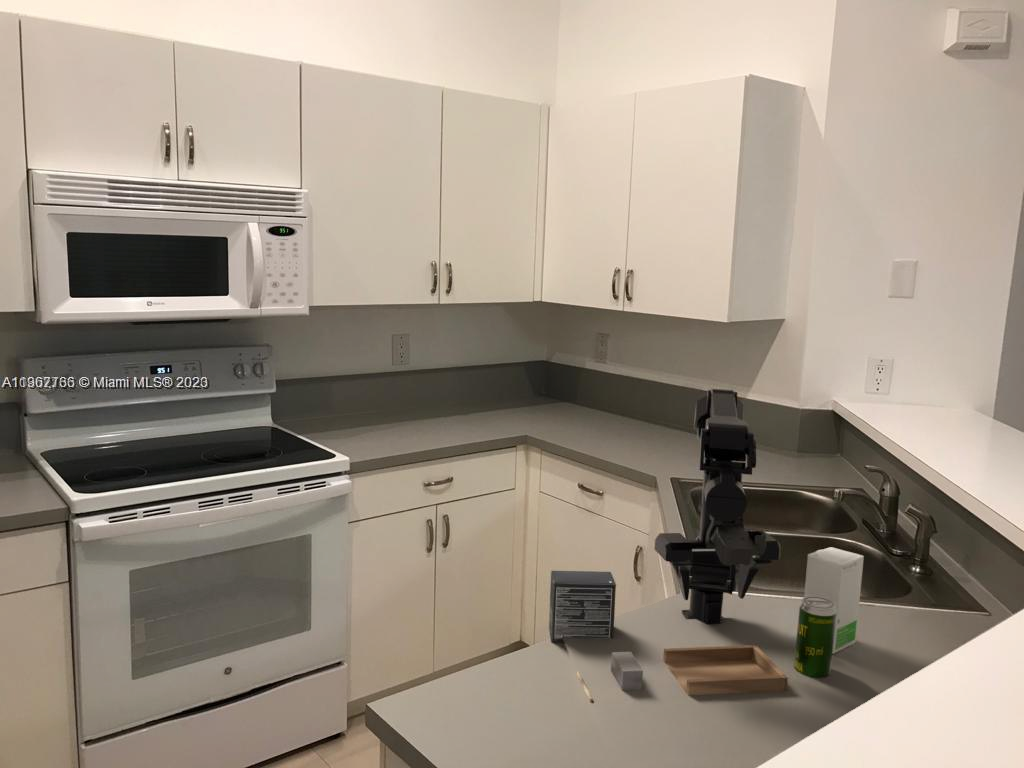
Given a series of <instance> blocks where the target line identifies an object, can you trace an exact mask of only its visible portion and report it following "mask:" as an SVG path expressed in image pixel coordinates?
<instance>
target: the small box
mask: <svg viewBox="0 0 1024 768" xmlns="http://www.w3.org/2000/svg"><path fill="white" fill-rule="evenodd" d="M616 588H617V583H616V581H615V578H614V576H613V573H612V572H611V571H589V570H588V571H587V570H551V571H550V590H549V591H550V592H549V593H550V595H549V613H548V614H549V617H548V618H549V619H548V631H549V637H550V642H551V643H564V644H565V641H564V639H563V638H575V639H578V638H579V639H614V629H615V610H616V608H615V607H616V593H617V591H616ZM561 636H562V637H561Z"/></svg>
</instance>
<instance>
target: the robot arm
mask: <svg viewBox="0 0 1024 768" xmlns="http://www.w3.org/2000/svg"><path fill="white" fill-rule="evenodd" d="M693 429H695V430H697V431H696V432H697V433H696V440H697V442H698V444H699V464H698V465H699V471H703V476H702V477H703V479H702V492H701V493H702V494H701V503H698V511H699V512H700V525H699V528H697V529H696V536H697V537H696V538H695V539H687V538H686V537H685V536H684V535H682V533H680V532H673V533H672V532H668V533H667V532H666V533H665V532H664V533H662V532H661V533H659V534H658V535H657V536H656V537H655V540H654V551H655V552H656V553H657V554H659V555H660V557H662V559H663V560H664V561H665V562H668V563H669V564H671V566H672V568H673V570H674V573H675V576H676V579H677V581H678V582H677V583H678V585H679V588H680V592H681V595H682V597H683V599H684V600H685V601H688V600H689V608H688V609H683V610H681V614H682V615H683V616H684V617H685V618H686V620H696V621H699V622H700V621H701V623H703V624H705V625H721V623H722V619H724V616H722V614H723V603H724V594H729V595H732V594H733V592H736V589H737V596H738V597H739V599H742V600H743V599H744V598H745V596H746V594H747V591H748V590H749V589H750V586H751V585H752V582H753V580H754V578H755V577H756V575H757V573H758V572H759V570H761V569H762V568H763V567H765V566H767V565H771V564H772V562H773V561H779V560H780V559H781V556H782V555H781V554H782V553H781V552H782V546H781V544H780V542H779V541H778V540H777V539H775V538H774V537H772V536H771V535H770V534H769V533H767V532H765V531H764V530H763V529H762V530H760V529H759V530H757V529H756V530H751V529H745V526H744V514H745V512H746V509H747V506H748V505H747V503H748V501H747V497H746V494H745V493H746V492H745V489H744V486H743V475H750V476H751V475H753V468H757V440H756V439H755V435H754V433H753V431H751V432H750V431H749V425H748V423H747V422H746V421H745V420H744V403H742V401H740V400H739V398H738V391H734V389H722V388H711V389H708V390H707V394H706V395H705V396H703V397H702V398H700V399H698V400H696V402H695V410H694V421H693ZM737 565H738V567H737ZM736 587H737V588H736ZM689 594H690V596H689ZM689 598H690V599H689Z"/></svg>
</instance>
